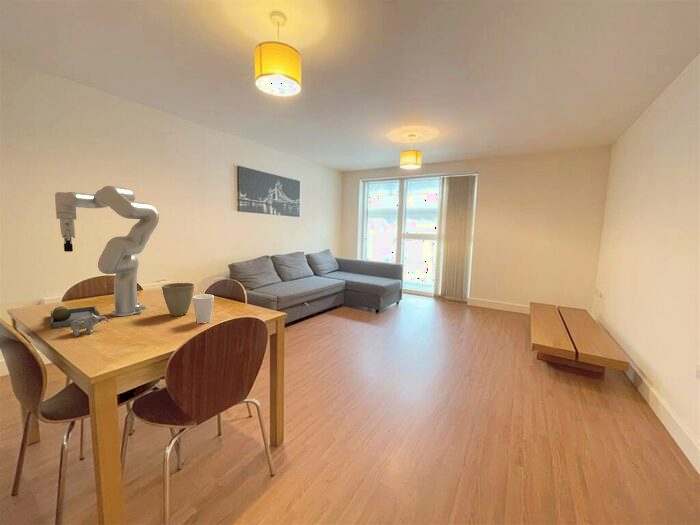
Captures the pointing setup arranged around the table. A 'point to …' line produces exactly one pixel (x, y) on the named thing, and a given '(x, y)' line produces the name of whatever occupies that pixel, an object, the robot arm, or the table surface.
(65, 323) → the tray
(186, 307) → the plant pot
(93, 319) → the gray elephant figurine
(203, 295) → the foam cup
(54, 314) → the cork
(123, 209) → the robot arm
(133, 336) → the table surface
